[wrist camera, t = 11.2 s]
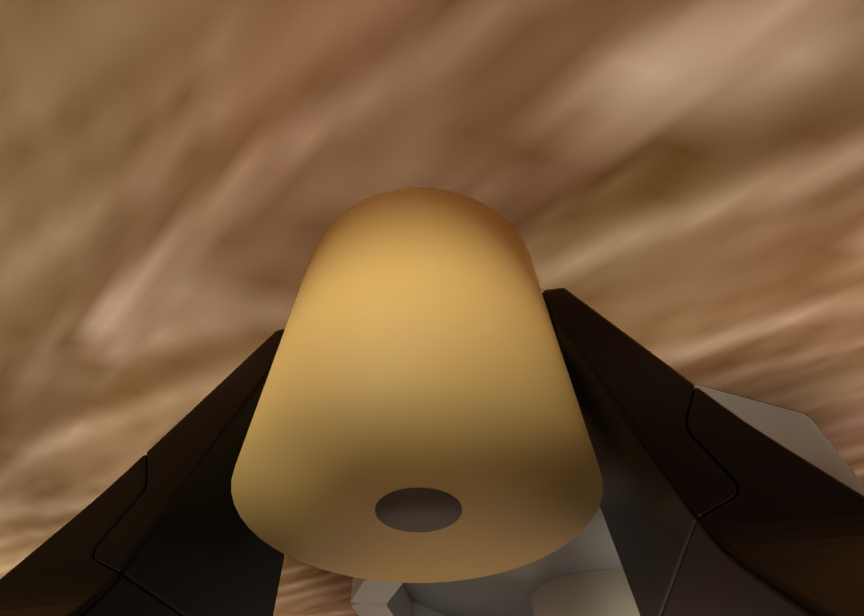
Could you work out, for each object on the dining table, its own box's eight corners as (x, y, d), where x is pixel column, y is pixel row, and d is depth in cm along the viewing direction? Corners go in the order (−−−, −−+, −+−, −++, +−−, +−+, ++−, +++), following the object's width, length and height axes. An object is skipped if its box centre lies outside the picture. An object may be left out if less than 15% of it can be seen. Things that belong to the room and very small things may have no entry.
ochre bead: (527, 166, 8) (616, 362, 4) (537, 356, 12) (595, 570, 8) (271, 212, 9) (151, 424, 5) (347, 381, 12) (308, 594, 8)
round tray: (932, 348, 12) (1037, 432, 10) (758, 596, 22) (791, 662, 20) (299, 428, 14) (277, 513, 12) (415, 623, 24) (414, 685, 22)
